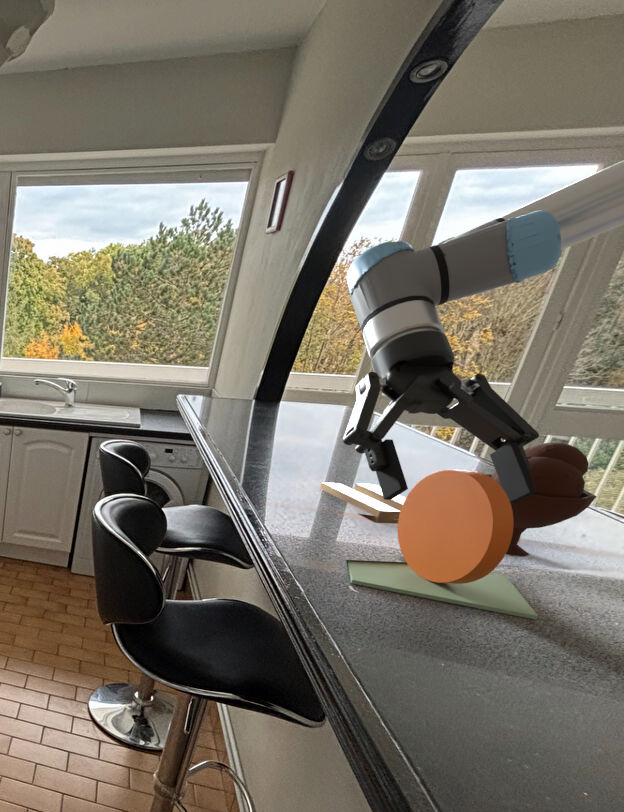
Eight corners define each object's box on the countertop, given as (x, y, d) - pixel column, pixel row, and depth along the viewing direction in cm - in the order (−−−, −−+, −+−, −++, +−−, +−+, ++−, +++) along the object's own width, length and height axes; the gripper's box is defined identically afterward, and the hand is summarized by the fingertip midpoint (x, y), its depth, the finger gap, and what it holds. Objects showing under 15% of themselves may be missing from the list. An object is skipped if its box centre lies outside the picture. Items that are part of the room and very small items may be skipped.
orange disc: (400, 554, 76) (438, 456, 71) (482, 604, 64) (535, 492, 59) (384, 553, 76) (420, 456, 71) (462, 603, 64) (513, 491, 59)
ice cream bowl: (451, 533, 85) (491, 430, 80) (562, 555, 78) (614, 444, 72) (443, 553, 78) (486, 441, 73) (563, 579, 71) (622, 458, 65)
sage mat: (503, 578, 71) (505, 574, 71) (536, 620, 62) (538, 616, 61) (343, 550, 79) (344, 546, 79) (351, 583, 69) (352, 579, 69)
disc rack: (370, 498, 100) (375, 484, 99) (437, 529, 87) (443, 513, 86) (315, 496, 101) (320, 482, 100) (373, 527, 87) (378, 510, 86)
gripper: (485, 369, 78) (544, 514, 69) (289, 366, 79) (324, 507, 71) (539, 328, 71) (612, 483, 62) (323, 326, 72) (366, 476, 64)
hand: (459, 496), depth 67 cm, fingers open, 13 cm apart
